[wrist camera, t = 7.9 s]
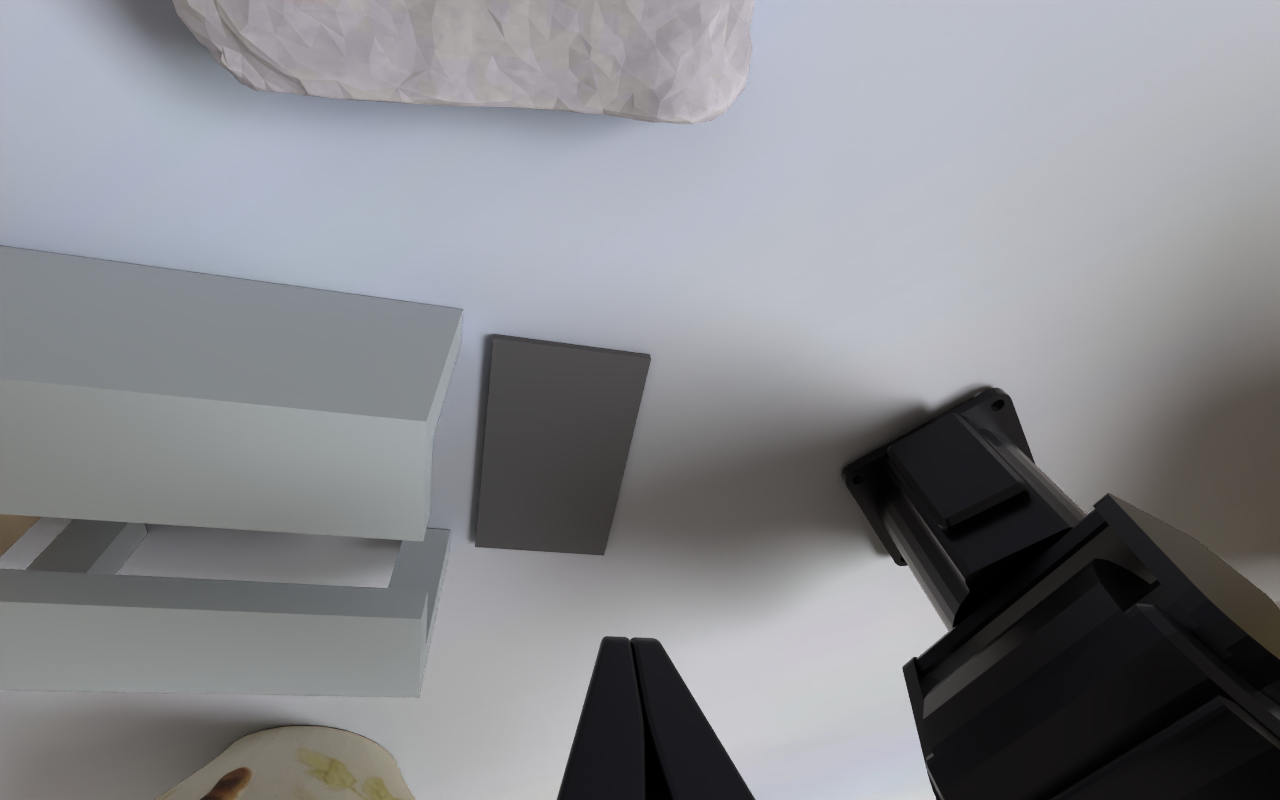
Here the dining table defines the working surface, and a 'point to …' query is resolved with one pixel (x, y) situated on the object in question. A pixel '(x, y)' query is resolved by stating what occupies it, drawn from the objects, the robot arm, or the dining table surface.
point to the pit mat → (556, 444)
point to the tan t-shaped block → (13, 529)
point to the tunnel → (214, 475)
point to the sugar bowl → (297, 769)
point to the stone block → (490, 52)
